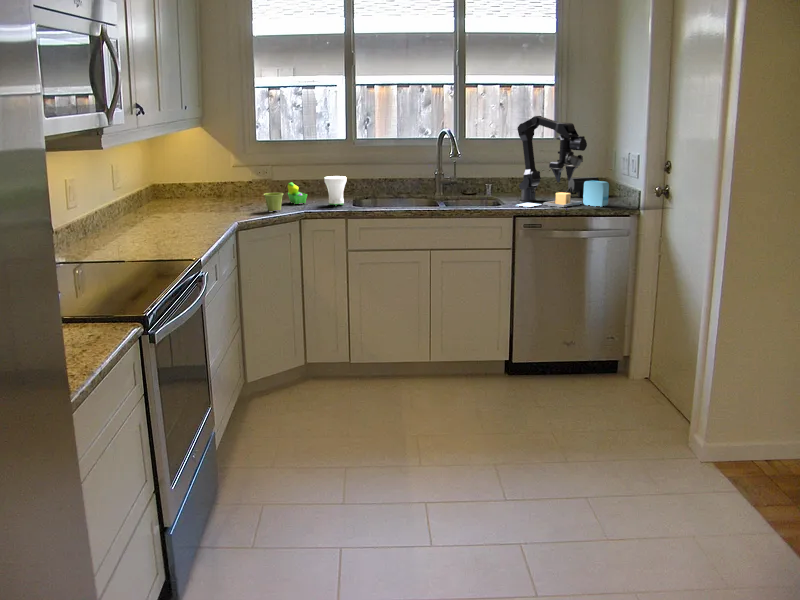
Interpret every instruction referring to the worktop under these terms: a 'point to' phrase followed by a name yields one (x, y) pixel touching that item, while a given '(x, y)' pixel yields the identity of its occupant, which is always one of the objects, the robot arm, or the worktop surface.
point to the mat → (528, 204)
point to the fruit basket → (296, 194)
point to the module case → (552, 203)
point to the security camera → (578, 185)
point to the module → (562, 198)
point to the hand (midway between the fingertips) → (563, 181)
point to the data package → (596, 193)
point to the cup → (335, 189)
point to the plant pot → (273, 201)
